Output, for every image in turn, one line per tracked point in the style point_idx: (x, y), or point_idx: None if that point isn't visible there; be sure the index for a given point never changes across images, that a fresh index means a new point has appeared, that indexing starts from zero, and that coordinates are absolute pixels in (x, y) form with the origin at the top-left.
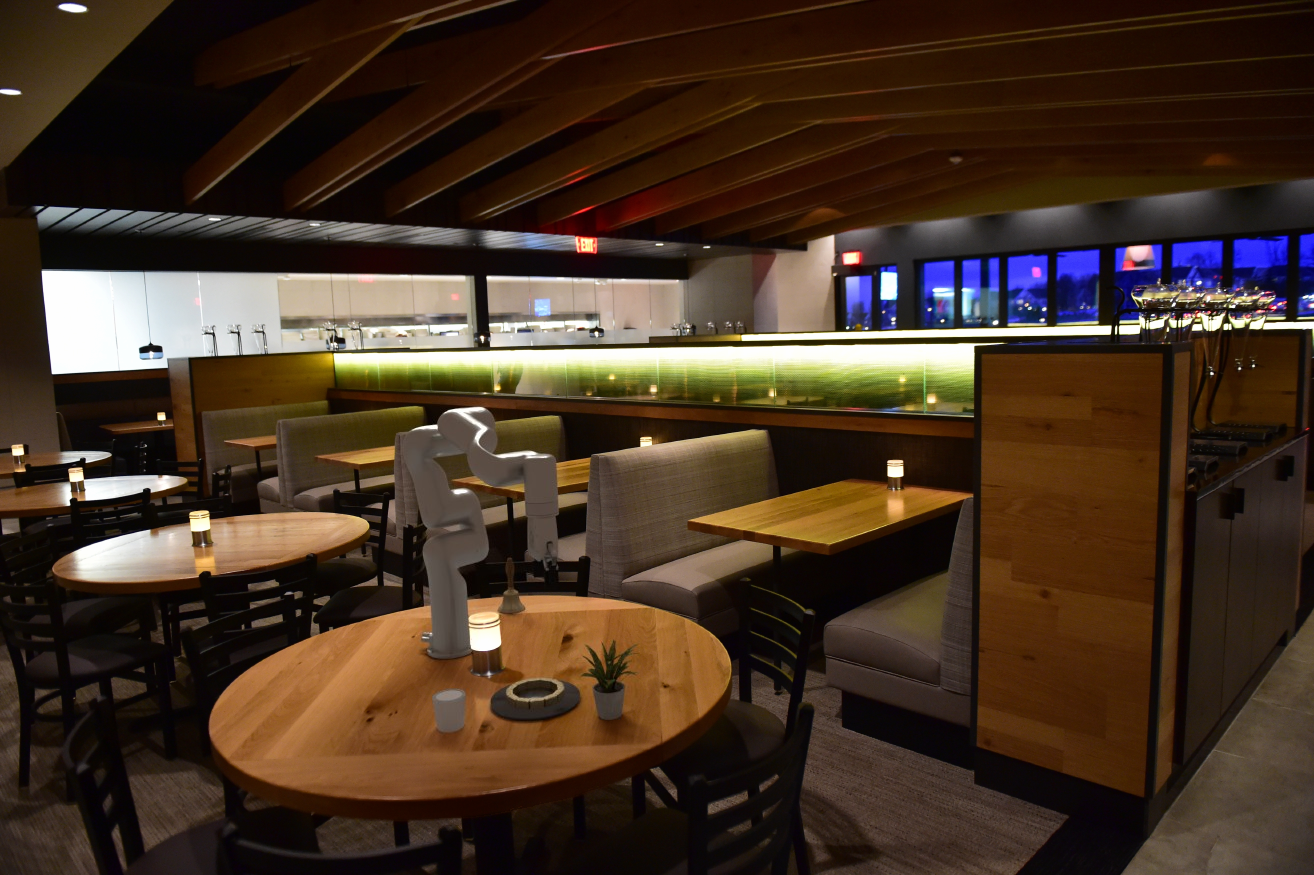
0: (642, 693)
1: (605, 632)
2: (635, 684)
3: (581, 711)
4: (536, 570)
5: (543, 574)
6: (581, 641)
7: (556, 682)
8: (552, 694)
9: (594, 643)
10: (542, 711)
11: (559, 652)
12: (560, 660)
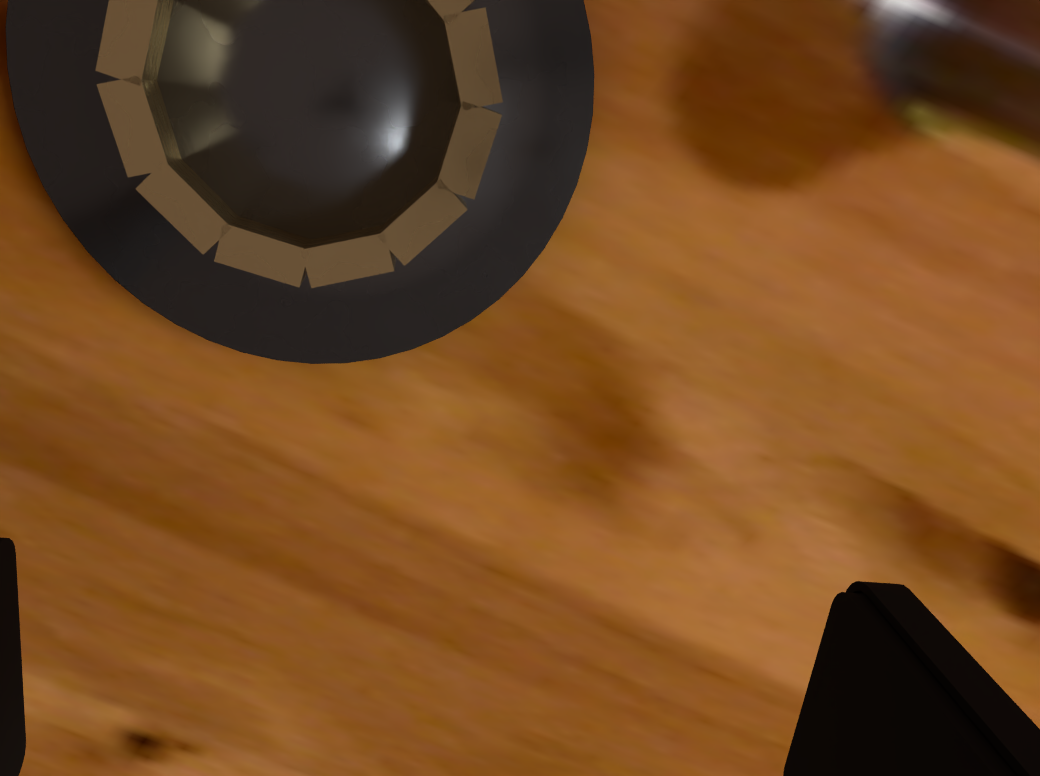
0: (111, 623)
1: None
2: (240, 639)
3: (34, 267)
4: (896, 718)
5: (805, 761)
6: None
7: (335, 258)
8: (159, 158)
9: None
10: (65, 37)
11: (894, 486)
12: (786, 448)
